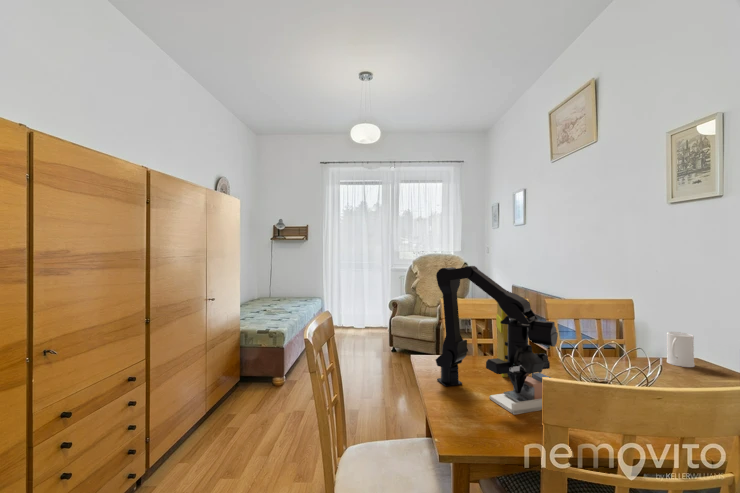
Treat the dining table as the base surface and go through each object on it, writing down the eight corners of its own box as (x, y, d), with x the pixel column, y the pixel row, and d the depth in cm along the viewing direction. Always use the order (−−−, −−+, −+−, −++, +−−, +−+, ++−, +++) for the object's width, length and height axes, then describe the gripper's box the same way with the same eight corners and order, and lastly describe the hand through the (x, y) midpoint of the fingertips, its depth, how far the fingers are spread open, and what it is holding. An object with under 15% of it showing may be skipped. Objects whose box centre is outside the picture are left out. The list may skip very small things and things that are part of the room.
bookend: (503, 393, 109) (503, 379, 109) (515, 392, 110) (515, 378, 110) (522, 404, 101) (521, 389, 101) (534, 402, 102) (534, 387, 102)
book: (522, 378, 126) (521, 308, 126) (502, 376, 127) (501, 307, 127) (512, 363, 142) (512, 301, 143) (495, 362, 144) (495, 301, 144)
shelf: (489, 398, 108) (489, 377, 108) (539, 391, 114) (539, 371, 114) (514, 414, 98) (513, 391, 98) (568, 405, 103) (567, 383, 104)
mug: (684, 370, 134) (683, 338, 134) (657, 363, 142) (657, 333, 142) (699, 365, 139) (698, 335, 140) (672, 359, 147) (672, 330, 147)
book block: (516, 394, 110) (516, 376, 110) (526, 392, 111) (526, 375, 111) (533, 403, 103) (533, 384, 103) (543, 401, 104) (543, 383, 104)
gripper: (509, 349, 95) (509, 407, 95) (564, 344, 101) (564, 399, 100) (484, 340, 106) (484, 392, 106) (535, 335, 111) (536, 385, 111)
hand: (518, 392), depth 105 cm, fingers closed
